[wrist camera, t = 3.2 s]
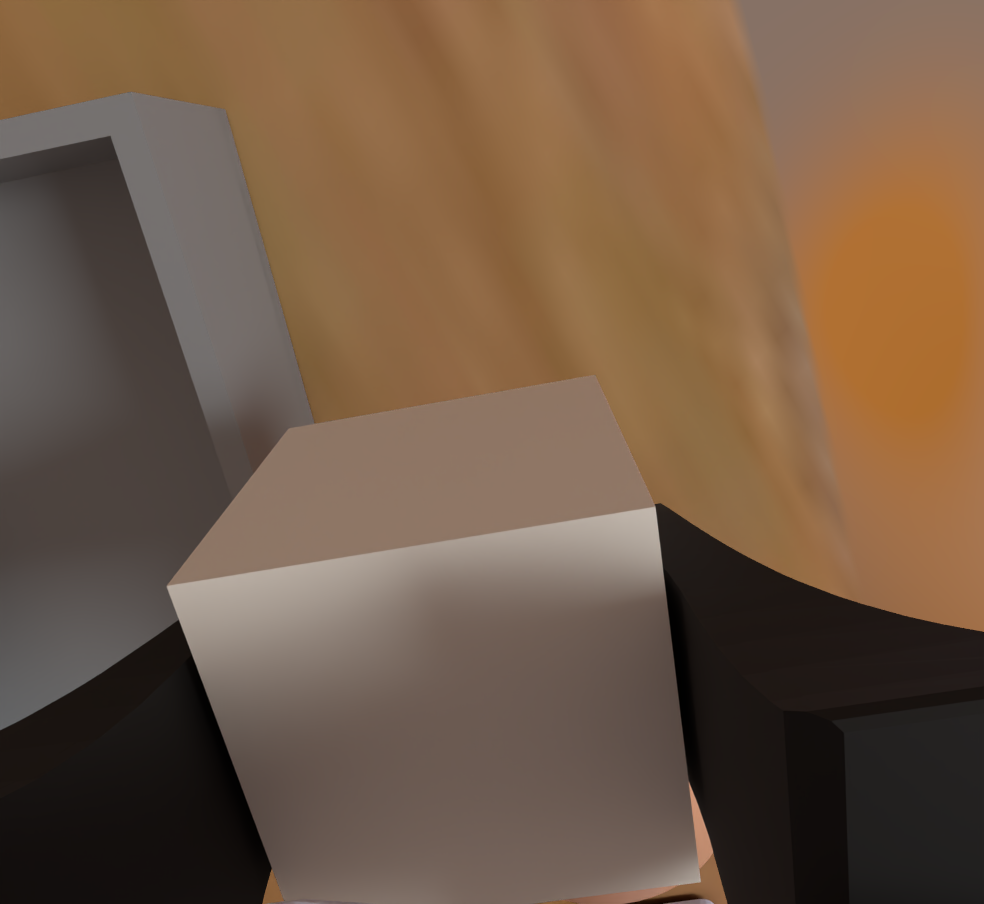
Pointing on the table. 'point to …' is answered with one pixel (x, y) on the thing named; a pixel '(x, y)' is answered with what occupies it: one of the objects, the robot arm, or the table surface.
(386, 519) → the cube
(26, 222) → the box
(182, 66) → the table surface
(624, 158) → the table surface
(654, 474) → the table surface
